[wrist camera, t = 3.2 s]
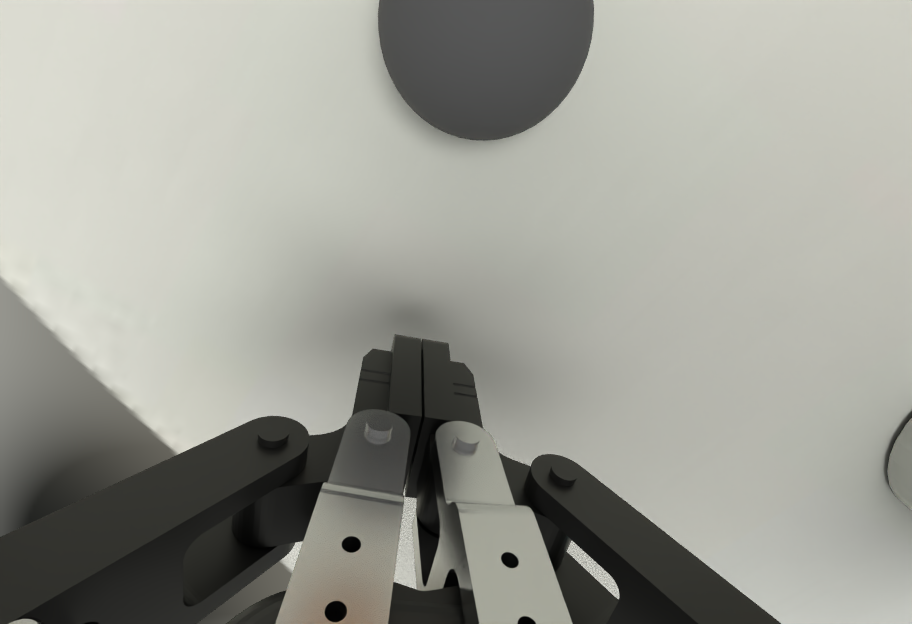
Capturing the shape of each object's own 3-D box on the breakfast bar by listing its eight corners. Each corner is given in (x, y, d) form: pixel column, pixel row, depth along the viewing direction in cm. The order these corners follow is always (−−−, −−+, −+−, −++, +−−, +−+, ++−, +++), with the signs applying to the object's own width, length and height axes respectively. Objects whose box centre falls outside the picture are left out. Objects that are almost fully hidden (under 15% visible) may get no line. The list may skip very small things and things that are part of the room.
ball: (596, 53, 16) (674, 40, 11) (460, 165, 17) (474, 200, 12) (493, -120, 14) (529, -233, 9) (348, 20, 15) (310, -10, 10)
